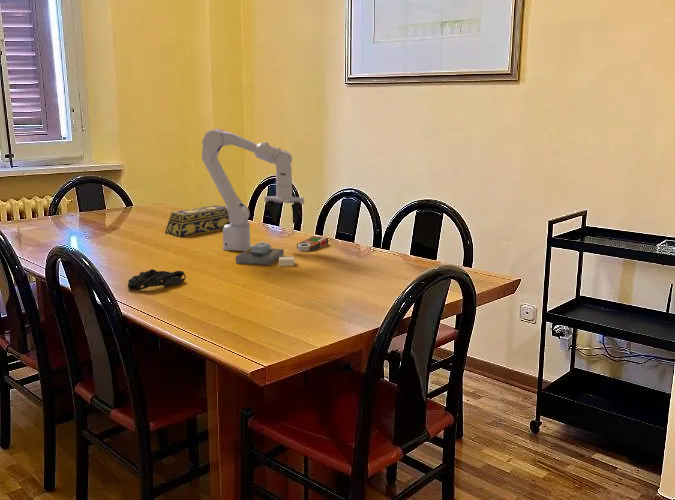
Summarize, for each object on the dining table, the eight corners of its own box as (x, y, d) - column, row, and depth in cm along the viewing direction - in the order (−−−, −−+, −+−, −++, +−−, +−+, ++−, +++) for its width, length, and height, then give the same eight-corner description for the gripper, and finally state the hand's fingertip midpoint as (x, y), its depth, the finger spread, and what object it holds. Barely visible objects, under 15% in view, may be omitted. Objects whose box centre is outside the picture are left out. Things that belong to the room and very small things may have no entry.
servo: (250, 261, 225) (250, 245, 224) (261, 255, 234) (260, 239, 232) (261, 262, 224) (261, 245, 223) (271, 256, 233) (271, 240, 231)
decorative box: (237, 227, 283) (236, 206, 281) (179, 238, 262) (177, 216, 259) (221, 224, 290) (220, 203, 288) (163, 234, 268) (161, 212, 266)
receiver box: (278, 266, 220) (278, 259, 219) (279, 263, 223) (279, 257, 222) (293, 266, 220) (293, 259, 219) (294, 263, 223) (294, 256, 223)
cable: (138, 295, 189) (137, 280, 188) (116, 285, 199) (115, 271, 198) (190, 283, 200) (190, 270, 199) (167, 274, 210) (166, 261, 209)
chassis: (235, 263, 223) (235, 254, 222) (251, 253, 236) (251, 245, 235) (269, 265, 220) (269, 256, 219) (283, 255, 233) (283, 247, 232)
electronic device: (293, 244, 240) (313, 235, 253) (293, 252, 241) (313, 242, 254) (309, 246, 237) (329, 236, 250) (310, 254, 238) (329, 244, 251)
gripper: (261, 185, 236) (262, 223, 239) (299, 187, 232) (300, 225, 235) (268, 183, 242) (269, 219, 245) (305, 184, 239) (306, 221, 242)
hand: (284, 222), depth 241 cm, fingers open, 7 cm apart
